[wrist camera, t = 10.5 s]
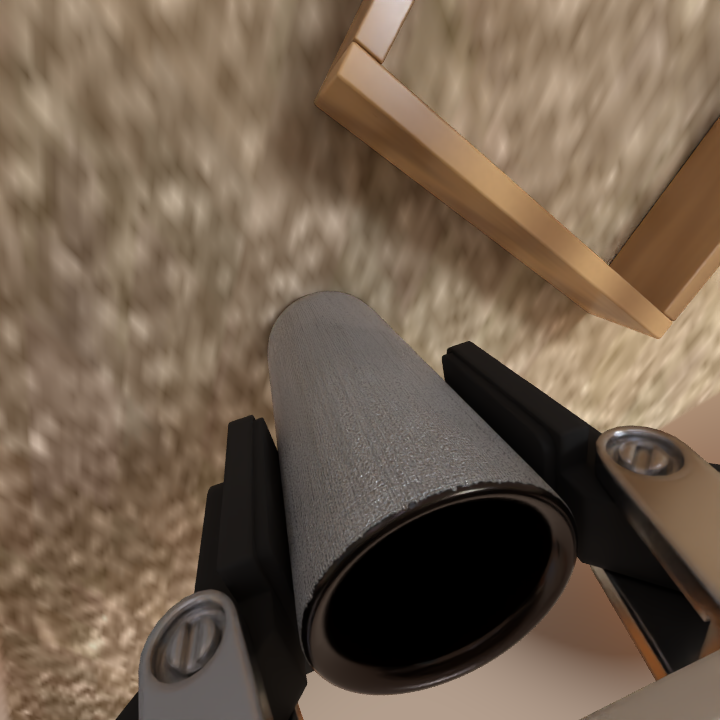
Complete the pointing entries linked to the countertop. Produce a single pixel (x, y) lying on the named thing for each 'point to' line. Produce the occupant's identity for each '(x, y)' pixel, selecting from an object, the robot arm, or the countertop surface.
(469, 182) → the wooden square frame
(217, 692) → the robot arm
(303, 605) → the planter
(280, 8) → the countertop surface
